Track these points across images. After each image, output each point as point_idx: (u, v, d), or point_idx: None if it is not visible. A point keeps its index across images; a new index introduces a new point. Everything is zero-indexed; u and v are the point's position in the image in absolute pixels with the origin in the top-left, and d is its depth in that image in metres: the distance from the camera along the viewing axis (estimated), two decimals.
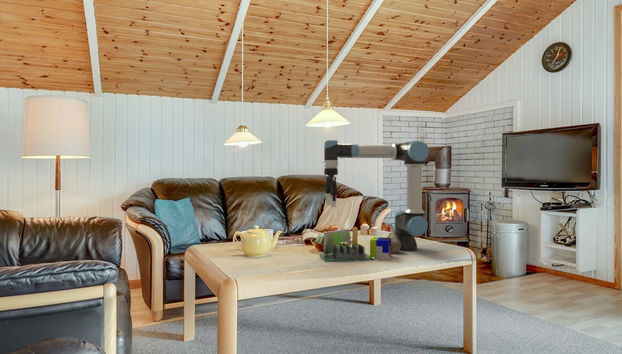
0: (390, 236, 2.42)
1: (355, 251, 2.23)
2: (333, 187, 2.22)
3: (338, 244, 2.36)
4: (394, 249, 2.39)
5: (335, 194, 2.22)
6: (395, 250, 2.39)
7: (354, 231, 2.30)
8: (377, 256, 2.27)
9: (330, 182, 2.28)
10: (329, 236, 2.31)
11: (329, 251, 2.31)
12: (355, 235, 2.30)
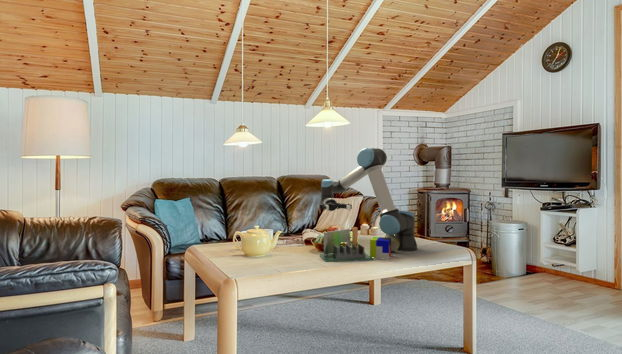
0: (386, 235, 2.44)
1: (355, 251, 2.23)
2: None
3: (338, 244, 2.36)
4: (391, 247, 2.39)
5: (321, 206, 2.51)
6: (392, 248, 2.39)
7: (354, 231, 2.30)
8: (377, 256, 2.27)
9: (329, 207, 2.59)
10: (329, 236, 2.31)
11: (329, 251, 2.31)
12: (355, 235, 2.30)
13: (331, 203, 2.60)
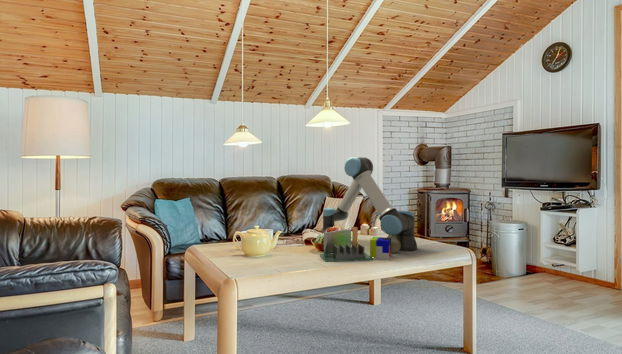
0: (389, 236, 2.43)
1: (355, 251, 2.23)
2: None
3: (339, 244, 2.36)
4: (393, 249, 2.39)
5: None
6: (394, 250, 2.39)
7: (354, 231, 2.30)
8: (377, 256, 2.27)
9: None
10: (329, 236, 2.31)
11: (329, 251, 2.31)
12: (355, 235, 2.30)
13: None
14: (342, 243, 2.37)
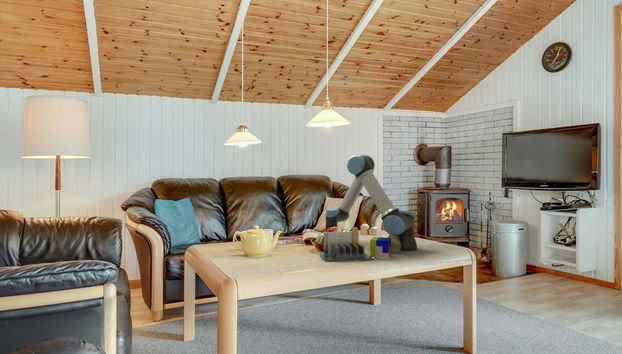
0: (390, 236, 2.42)
1: (355, 251, 2.23)
2: None
3: None
4: (394, 250, 2.39)
5: None
6: (395, 250, 2.39)
7: (354, 231, 2.30)
8: (377, 256, 2.27)
9: None
10: (329, 236, 2.30)
11: (329, 251, 2.30)
12: (355, 235, 2.30)
13: None
14: None
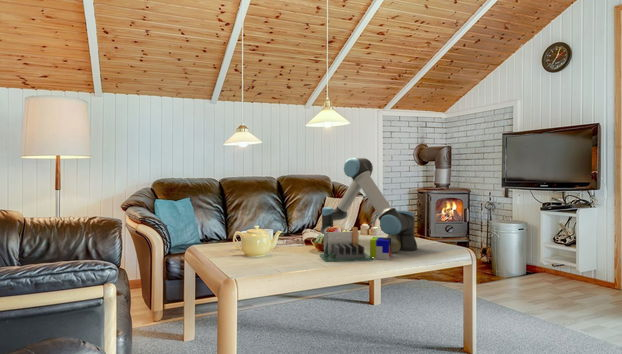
0: (389, 236, 2.43)
1: (355, 251, 2.23)
2: None
3: None
4: (393, 249, 2.39)
5: None
6: (393, 250, 2.39)
7: (354, 231, 2.30)
8: (377, 256, 2.27)
9: None
10: (329, 236, 2.30)
11: (329, 251, 2.30)
12: (355, 235, 2.30)
13: None
14: None
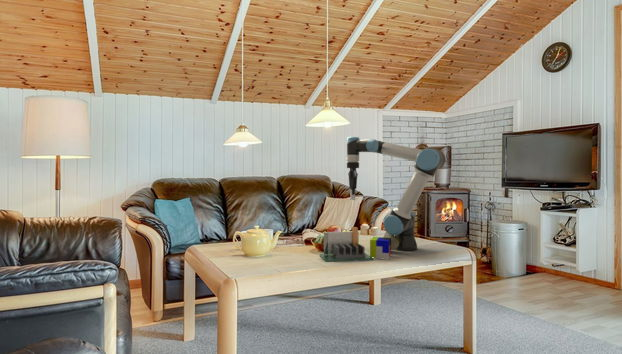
0: (385, 235, 2.44)
1: (355, 251, 2.23)
2: (353, 183, 2.53)
3: None
4: (391, 246, 2.39)
5: (354, 188, 2.55)
6: (392, 246, 2.39)
7: (354, 231, 2.30)
8: (377, 256, 2.27)
9: None
10: (329, 236, 2.30)
11: (329, 251, 2.30)
12: (355, 235, 2.30)
13: None
14: None
